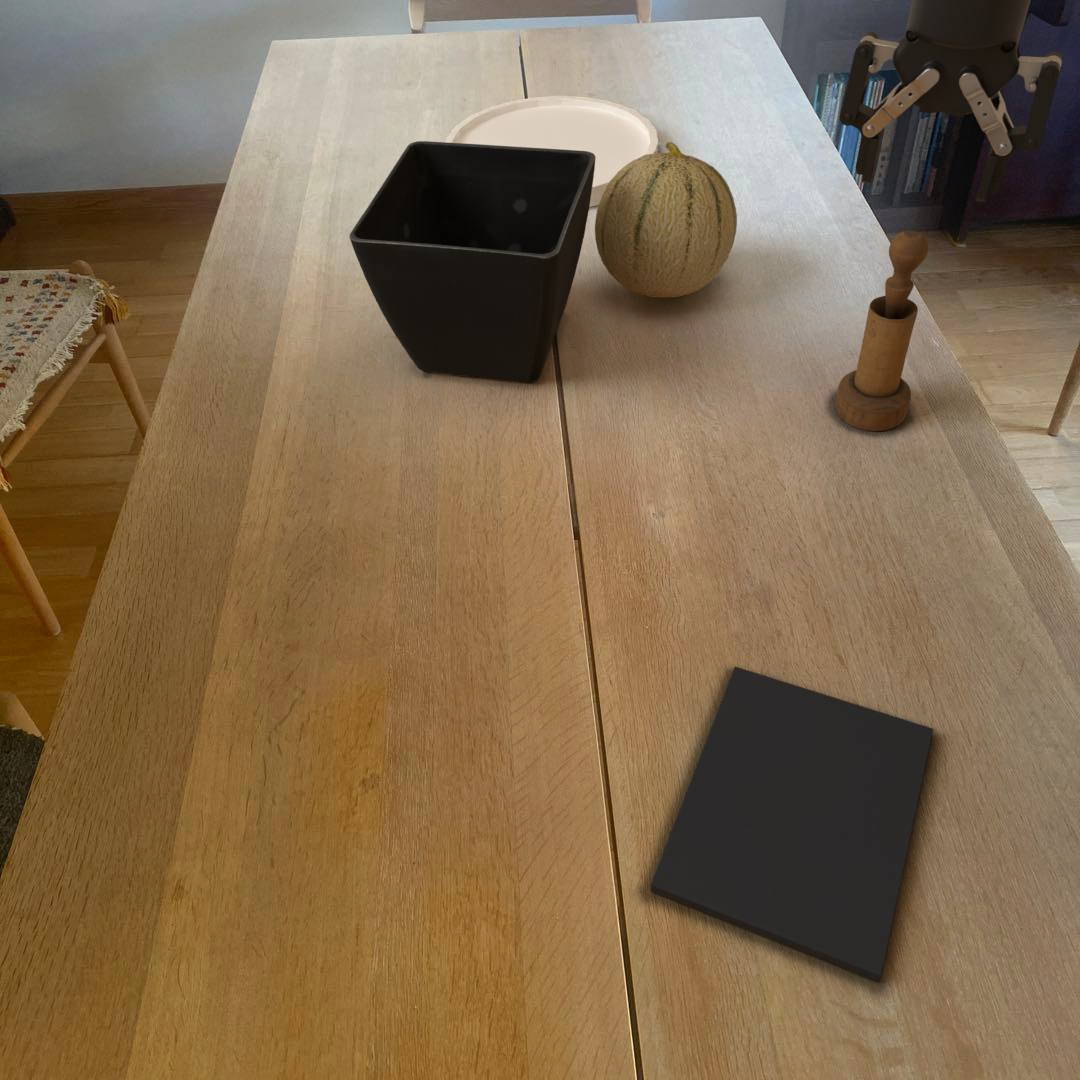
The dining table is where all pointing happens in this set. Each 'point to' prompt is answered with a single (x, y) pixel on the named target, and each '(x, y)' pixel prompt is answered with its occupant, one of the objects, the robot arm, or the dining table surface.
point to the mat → (799, 821)
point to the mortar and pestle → (885, 346)
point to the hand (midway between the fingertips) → (924, 187)
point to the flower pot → (476, 253)
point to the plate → (565, 131)
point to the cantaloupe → (665, 224)
